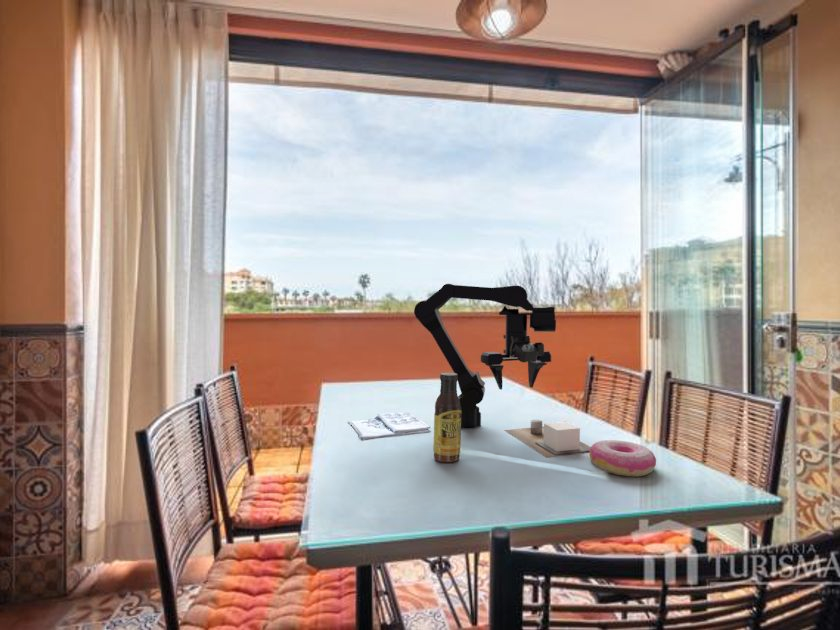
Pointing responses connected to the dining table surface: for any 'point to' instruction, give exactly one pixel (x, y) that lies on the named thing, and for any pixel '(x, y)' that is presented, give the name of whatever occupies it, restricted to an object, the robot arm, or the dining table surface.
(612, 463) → the donut
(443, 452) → the sauce bottle
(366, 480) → the dining table surface
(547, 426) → the off-white cube box
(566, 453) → the post stand
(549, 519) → the dining table surface
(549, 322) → the robot arm
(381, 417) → the open sketchbook
